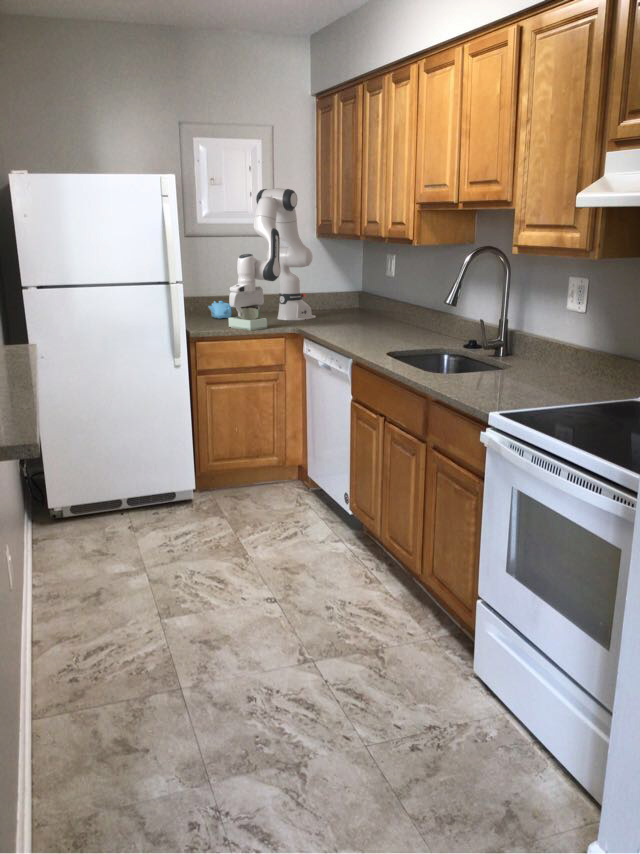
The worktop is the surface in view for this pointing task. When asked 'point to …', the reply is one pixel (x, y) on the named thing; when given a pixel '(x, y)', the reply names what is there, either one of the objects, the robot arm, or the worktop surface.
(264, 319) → the crate
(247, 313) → the food container
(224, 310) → the teapot
